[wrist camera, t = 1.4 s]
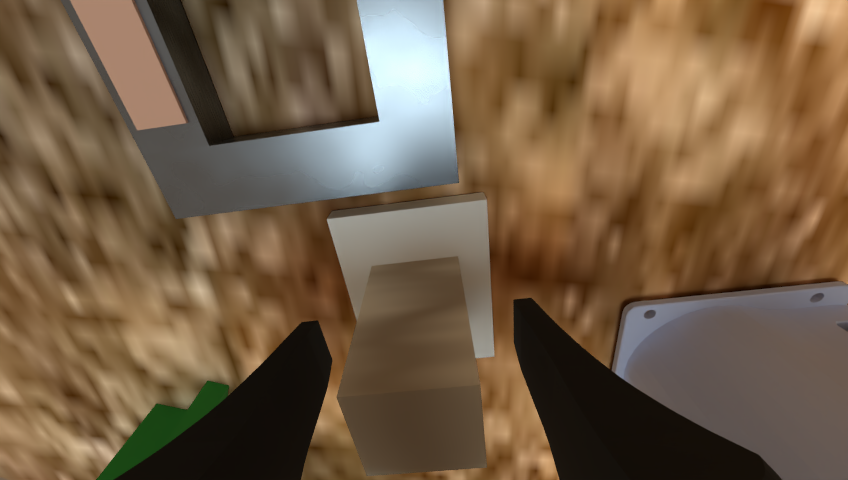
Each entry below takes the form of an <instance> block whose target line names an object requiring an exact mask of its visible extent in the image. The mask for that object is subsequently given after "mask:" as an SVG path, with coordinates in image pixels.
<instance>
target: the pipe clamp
mask: <svg viewBox="0 0 848 480" xmlns="http://www.w3.org/2000/svg"><path fill="white" fill-rule="evenodd" d="M228 389H229V385H224V384H220V383H215V382H211V381H207V382H206V384H205V385H204V387H203V388H202V390H201V391H200V392H199V394H198V395H197V397H196V398H195V400H194V401H193V403H192V404H191V406H190V407H189V408H188V410H184V409H180V408H175V407H170V406H166V405H161V404H156V405H155V406H154V408H153V409H152V410H151V411H150V413H149V414H148V415H147V416H146V418H145V419H144V420H143V421H142V423H141V424H140V425H139V426H138V428H137V429H136V430H135V432H134V433H133V434H132V435H131V437H130V438H129V439H128V440H127V442H126V443H125V444H124V445H123V447H122V448H121V449H120V450H119V452H118V453H117V454H116V455H115V457H114V458H113V459H112V460H111V462H110V463H109V464H108V466H107V467H106V468H105V469H104V471H103V472H102V473H101V474H100V476H99V477H98V478H97V479H96V480H114V479H115V478H117V477H118V476H120V475H122V474H123V473H125V472H126V471H128V470H129V469H131V468H132V467H134V466H136V465H137V464H139V463H140V462H142V461H143V460H145V459H146V458H148V457H149V456H151V455H152V454H153V453H155V452H156V451H158V450H159V449H161V448H162V447H164V446H165V445H166V444H168V443H169V442H171V441H172V440H173V439H175V438H176V437H177V436H179V435H180V434H181V433H183V432H184V431H185V430H187V429H188V428H189V427H191V426H192V425H193V424H195V423H196V422H197V421H199V420H200V419H201V418H202V417H204V416H205V415H206V414H207V413H208V412H210V411H211V410H212V409H213V408H214V407H216V406H217V405H218V404H219V403H220V402H222V401H223V400H224V399H225V398H226V397H227V396H228Z"/></svg>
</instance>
